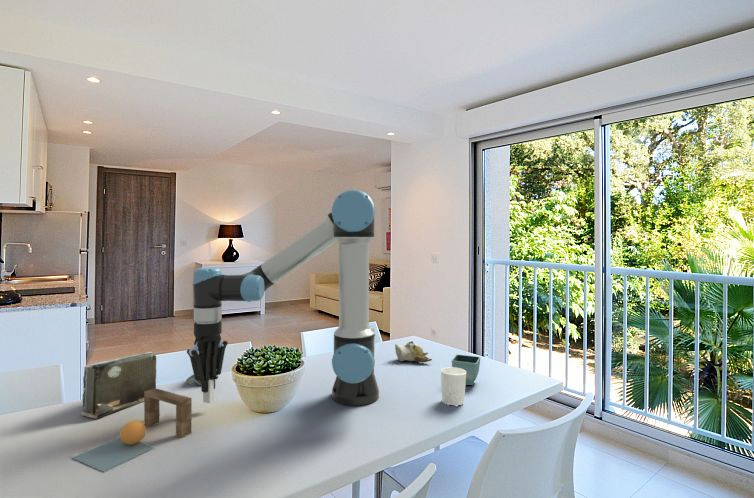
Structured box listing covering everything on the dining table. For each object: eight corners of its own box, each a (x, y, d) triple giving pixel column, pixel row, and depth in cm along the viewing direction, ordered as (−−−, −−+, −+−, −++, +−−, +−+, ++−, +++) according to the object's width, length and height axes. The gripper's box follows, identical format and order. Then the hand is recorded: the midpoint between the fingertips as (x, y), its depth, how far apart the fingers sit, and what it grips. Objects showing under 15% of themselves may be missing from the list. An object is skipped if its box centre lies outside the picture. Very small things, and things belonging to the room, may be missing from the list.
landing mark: (154, 447, 102) (154, 447, 102) (103, 472, 92) (103, 471, 92) (123, 436, 108) (123, 435, 108) (71, 458, 97) (71, 457, 97)
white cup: (468, 400, 136) (468, 369, 136) (462, 409, 129) (463, 376, 128) (444, 396, 139) (444, 365, 139) (437, 404, 132) (437, 372, 132)
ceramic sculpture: (394, 337, 182) (428, 339, 183) (392, 357, 182) (427, 359, 183) (396, 343, 171) (433, 346, 172) (394, 364, 172) (431, 367, 172)
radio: (150, 389, 141) (150, 344, 140) (168, 394, 137) (168, 348, 136) (74, 415, 120) (74, 363, 119) (93, 421, 116) (93, 367, 116)
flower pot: (450, 385, 149) (451, 360, 149) (455, 378, 157) (456, 353, 157) (476, 389, 146) (476, 363, 145) (480, 381, 154) (480, 356, 154)
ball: (136, 421, 102) (124, 445, 100) (154, 425, 106) (143, 449, 104) (122, 416, 105) (111, 439, 102) (141, 420, 109) (130, 443, 106)
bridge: (154, 421, 117) (154, 388, 116) (191, 433, 110) (191, 398, 110) (144, 425, 114) (144, 391, 114) (181, 437, 108) (181, 401, 107)
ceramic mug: (218, 377, 153) (218, 356, 153) (216, 384, 146) (216, 363, 145) (187, 380, 150) (187, 359, 150) (184, 387, 143) (184, 366, 143)
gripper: (216, 316, 130) (216, 392, 131) (179, 324, 119) (180, 407, 120) (234, 318, 127) (234, 396, 128) (198, 326, 115) (199, 412, 116)
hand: (208, 401), depth 124 cm, fingers closed
